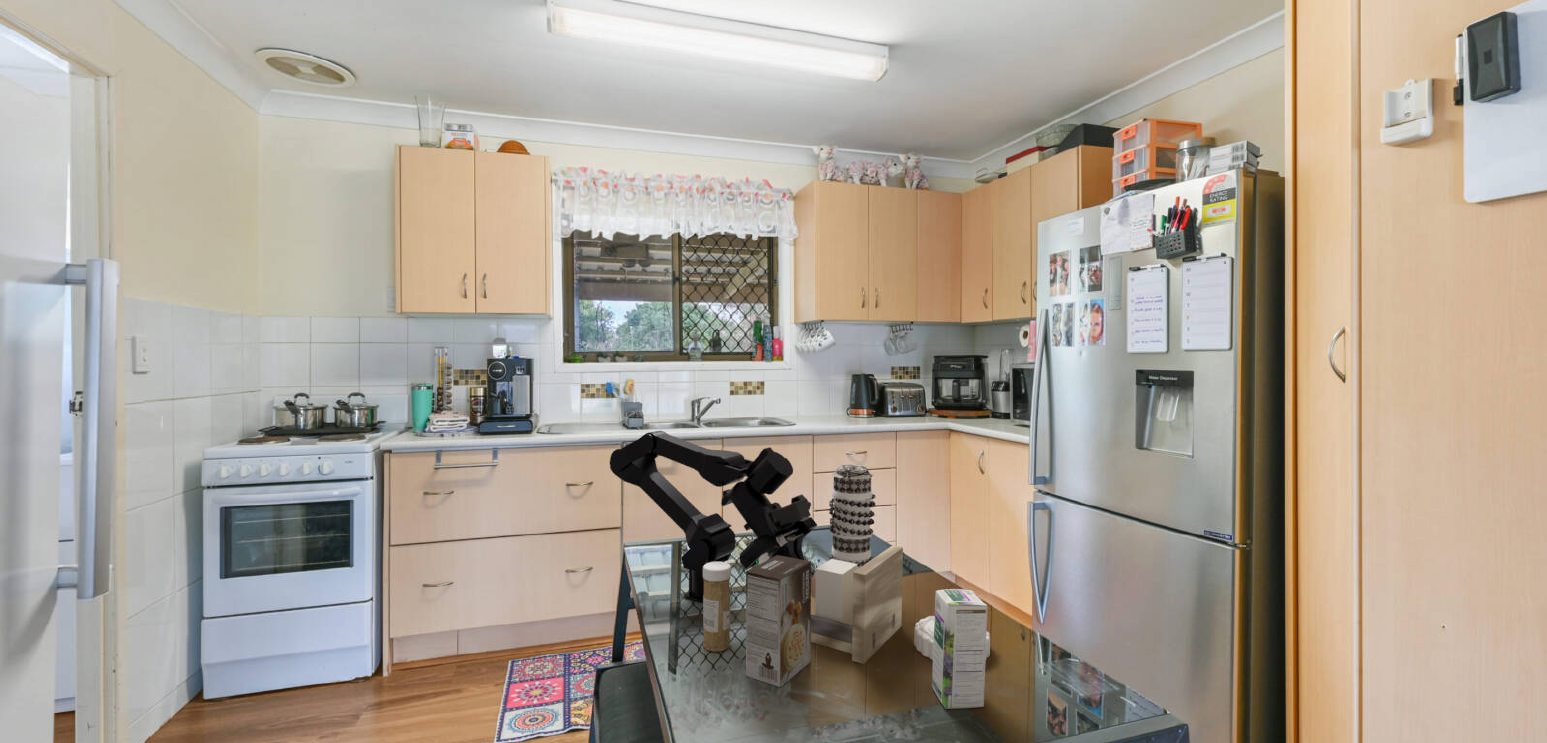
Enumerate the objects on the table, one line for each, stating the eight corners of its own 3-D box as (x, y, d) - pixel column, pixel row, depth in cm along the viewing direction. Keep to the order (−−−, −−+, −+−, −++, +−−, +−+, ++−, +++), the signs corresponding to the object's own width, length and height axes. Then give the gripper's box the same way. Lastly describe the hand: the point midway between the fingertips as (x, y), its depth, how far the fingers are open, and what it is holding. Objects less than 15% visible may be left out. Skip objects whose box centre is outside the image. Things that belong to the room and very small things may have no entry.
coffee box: (776, 652, 104) (777, 553, 103) (811, 662, 101) (813, 560, 100) (744, 676, 96) (744, 570, 96) (780, 689, 93) (782, 579, 92)
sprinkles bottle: (735, 648, 105) (736, 566, 104) (710, 655, 103) (711, 572, 102) (721, 637, 109) (722, 558, 108) (697, 644, 106) (697, 563, 106)
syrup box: (930, 687, 94) (932, 589, 93) (970, 686, 94) (972, 588, 94) (944, 710, 88) (946, 605, 87) (986, 708, 88) (989, 604, 88)
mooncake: (1004, 664, 101) (1004, 641, 101) (931, 669, 99) (932, 646, 99) (968, 630, 113) (969, 610, 113) (903, 634, 111) (903, 614, 111)
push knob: (808, 624, 111) (809, 567, 111) (825, 612, 116) (825, 557, 116) (841, 633, 108) (842, 574, 107) (856, 620, 113) (857, 564, 112)
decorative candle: (883, 595, 128) (885, 469, 127) (843, 602, 124) (845, 473, 123) (857, 579, 136) (859, 461, 135) (819, 586, 132) (821, 464, 131)
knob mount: (796, 644, 107) (797, 560, 106) (839, 610, 120) (840, 536, 120) (863, 664, 100) (865, 575, 100) (901, 626, 114) (902, 547, 113)
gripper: (754, 492, 109) (811, 570, 103) (808, 474, 124) (860, 540, 119) (716, 531, 113) (769, 608, 108) (773, 509, 129) (822, 574, 123)
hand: (808, 580), depth 114 cm, fingers closed
